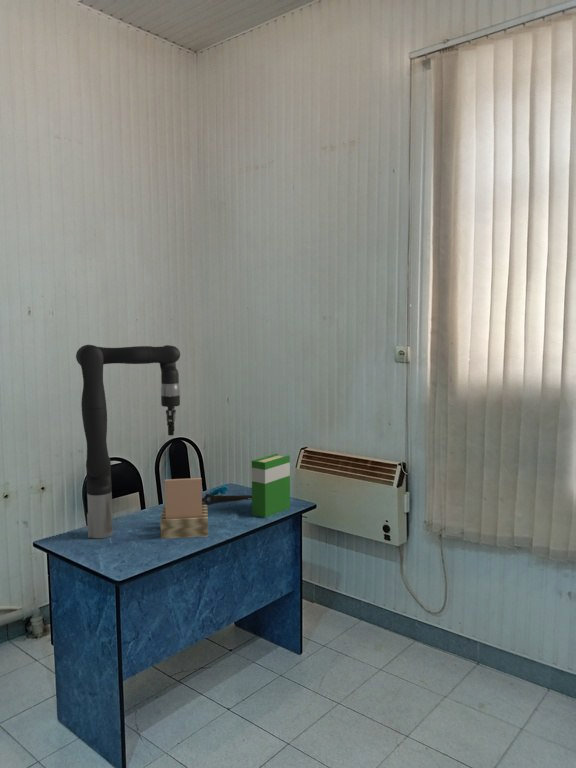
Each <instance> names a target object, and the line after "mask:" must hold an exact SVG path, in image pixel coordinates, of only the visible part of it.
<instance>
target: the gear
mask: <svg viewBox="0 0 576 768" xmlns="http://www.w3.org/2000/svg"><path fill="white" fill-rule="evenodd" d="M228 488H229V487H228V486H226V485H222V486H221V485H220V486H218V487H217V488H216V487H214V489H213V490H210V491H209V494H210V495H213V496H223V495H225V494H226V492H227V491H228ZM208 499H209V500H210V501H211V497H208Z"/></svg>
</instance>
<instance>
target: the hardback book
mask: <svg viewBox="0 0 576 768" xmlns="http://www.w3.org/2000/svg"><path fill="white" fill-rule="evenodd" d="M290 457H291V455H284V456H282V455H279V453H274V454H271V455H267V456H264V457H260V458H256V459H253V460H251V495H252V499H251V515H252V514H253V515H252V516H255V515H257V516H256V517H259V516H261V517H260V518H263V517H265V518H264V519H267V518H270V517H272V516H274V515H276V513H277V514H279V513H281V512H280V511H282V512H284V511H287V510H289V509H290V508H291V492H290V491H291V464H290V463H291V462H290V461H291V460H290V459H291V458H290ZM288 508H289V509H288ZM283 510H284V511H283ZM278 512H279V513H278ZM273 514H274V515H273ZM271 515H272V516H271ZM266 517H267V518H266Z"/></svg>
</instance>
